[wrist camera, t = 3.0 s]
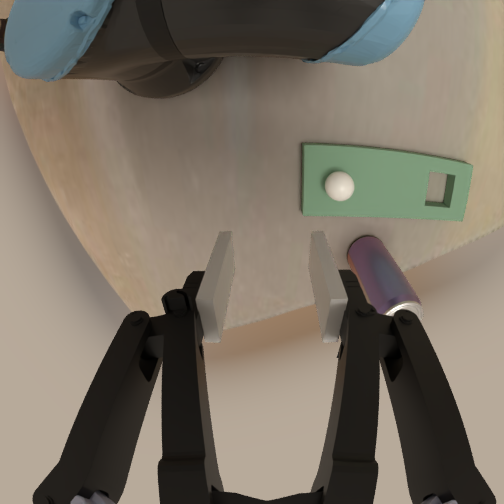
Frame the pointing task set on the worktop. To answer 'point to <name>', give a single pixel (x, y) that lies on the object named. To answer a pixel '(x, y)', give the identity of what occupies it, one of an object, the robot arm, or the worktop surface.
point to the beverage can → (382, 278)
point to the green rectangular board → (382, 183)
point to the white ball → (339, 186)
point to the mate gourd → (2, 33)
